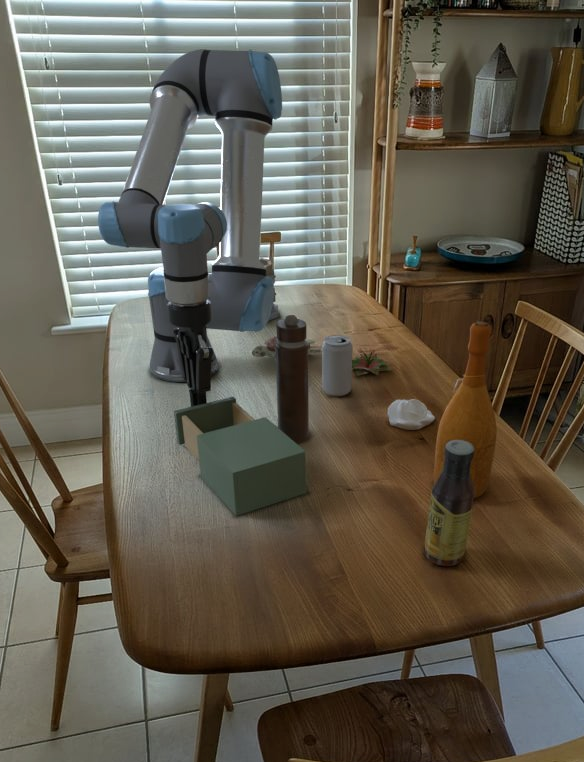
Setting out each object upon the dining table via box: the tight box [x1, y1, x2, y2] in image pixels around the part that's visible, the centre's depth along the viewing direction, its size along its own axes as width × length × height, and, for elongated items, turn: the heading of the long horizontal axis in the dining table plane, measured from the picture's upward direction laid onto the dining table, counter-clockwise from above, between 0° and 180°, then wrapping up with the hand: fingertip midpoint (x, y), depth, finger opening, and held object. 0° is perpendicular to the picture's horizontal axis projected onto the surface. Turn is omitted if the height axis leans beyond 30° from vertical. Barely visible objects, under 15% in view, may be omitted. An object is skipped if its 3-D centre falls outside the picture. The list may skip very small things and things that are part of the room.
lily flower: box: [352, 346, 393, 377], centre depth 169 cm, size 12×12×5 cm
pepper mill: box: [275, 313, 310, 444], centre depth 136 cm, size 6×6×24 cm
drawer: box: [173, 396, 256, 462], centre depth 135 cm, size 15×12×7 cm
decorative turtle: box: [251, 335, 322, 361], centre depth 174 cm, size 18×17×5 cm
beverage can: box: [321, 334, 353, 397], centre depth 157 cm, size 6×6×12 cm
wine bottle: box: [433, 321, 498, 499], centre depth 120 cm, size 10×10×30 cm
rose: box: [386, 398, 436, 431], centre depth 148 cm, size 10×4×10 cm
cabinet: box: [197, 416, 307, 517], centre depth 126 cm, size 14×13×8 cm
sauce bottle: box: [424, 440, 475, 567], centre depth 107 cm, size 7×6×20 cm
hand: (200, 420), depth 141 cm, fingers closed
